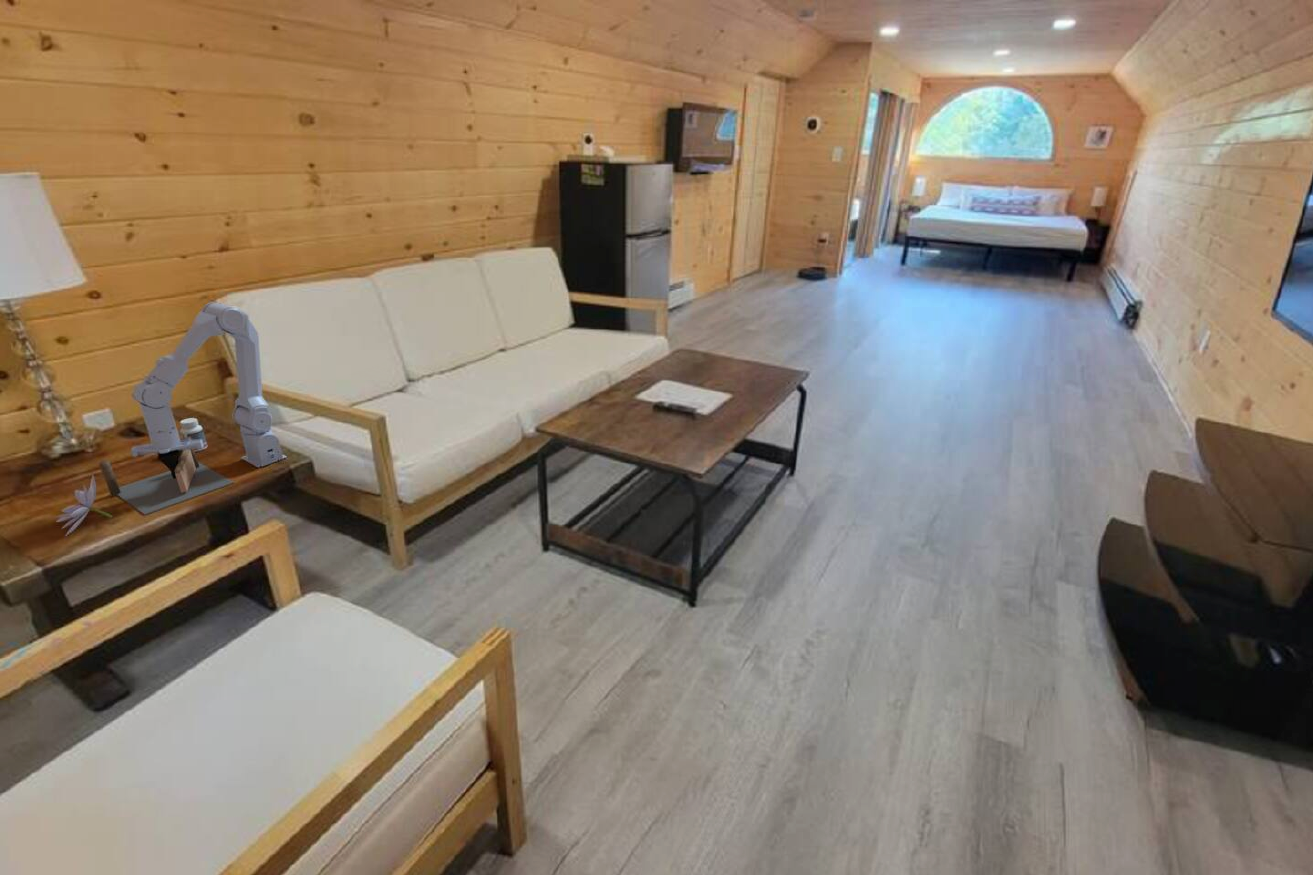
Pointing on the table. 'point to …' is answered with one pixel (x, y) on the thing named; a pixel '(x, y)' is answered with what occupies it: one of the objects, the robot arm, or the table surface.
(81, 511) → the water lily
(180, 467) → the brown rimmed panel
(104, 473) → the brown wooden posts
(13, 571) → the table surface
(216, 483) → the mat
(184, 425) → the pill bottle
